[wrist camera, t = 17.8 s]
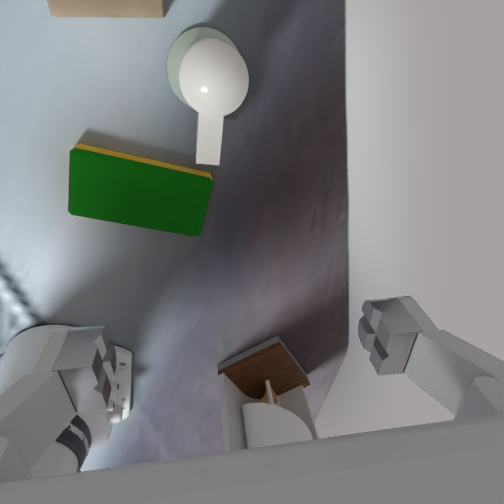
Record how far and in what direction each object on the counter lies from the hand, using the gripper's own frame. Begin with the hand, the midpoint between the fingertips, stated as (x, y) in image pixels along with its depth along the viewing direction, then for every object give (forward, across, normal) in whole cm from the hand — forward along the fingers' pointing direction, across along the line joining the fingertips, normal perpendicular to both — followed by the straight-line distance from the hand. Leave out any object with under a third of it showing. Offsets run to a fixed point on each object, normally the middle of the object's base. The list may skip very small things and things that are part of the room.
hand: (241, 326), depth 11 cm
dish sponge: (+30, +8, +7) cm, 32 cm away
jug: (+29, 0, -2) cm, 29 cm away
